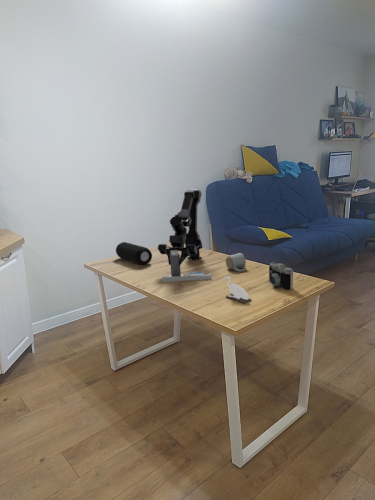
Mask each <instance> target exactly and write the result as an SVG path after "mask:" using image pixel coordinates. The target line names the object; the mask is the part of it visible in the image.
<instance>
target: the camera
mask: <svg viewBox="0 0 375 500" xmlns="http://www.w3.org/2000/svg"><path fill="white" fill-rule="evenodd" d="M268 267H269V268H268V271H269V272H268V282H270V284H272V285H273V286H275V287H279V288H281V289H283V290H285V291H291V290H293V286H294V285H293V284H294V283H293V282H294V270H293V269H292V268H291V267H287V265H285V264H284V263H275V262H270V263H269V266H268Z"/></svg>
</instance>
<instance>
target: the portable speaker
mask: <svg viewBox="0 0 375 500" xmlns="http://www.w3.org/2000/svg"><path fill="white" fill-rule="evenodd" d="M115 254H116V255H117V256H118V258H120V259H122V258H123V260H125V261H128V260H129V261H128V262H131V261H132V263H134V264H138V265H140V266H143V265H144V264H145V265H147V264H149V263H151V261H152V259H153V253H152V251H151V250H150V249H149V248H148V247H144V246H142V245H138V244H134V243H130V242H126V241H122V242H120V243H119V244H117V246H116V247H115Z"/></svg>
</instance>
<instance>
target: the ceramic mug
mask: <svg viewBox="0 0 375 500" xmlns="http://www.w3.org/2000/svg"><path fill="white" fill-rule="evenodd" d="M246 263H247V260H246V257H245V255H244V254H243V253H242V252H238V253H236V254H230V255H229V256H226V258H225V265H226V267H227V268H228V269H229V270H231V271H232V270H234V271H236V272H241V273H242V272H245V270H246V268H247V267H246Z"/></svg>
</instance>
